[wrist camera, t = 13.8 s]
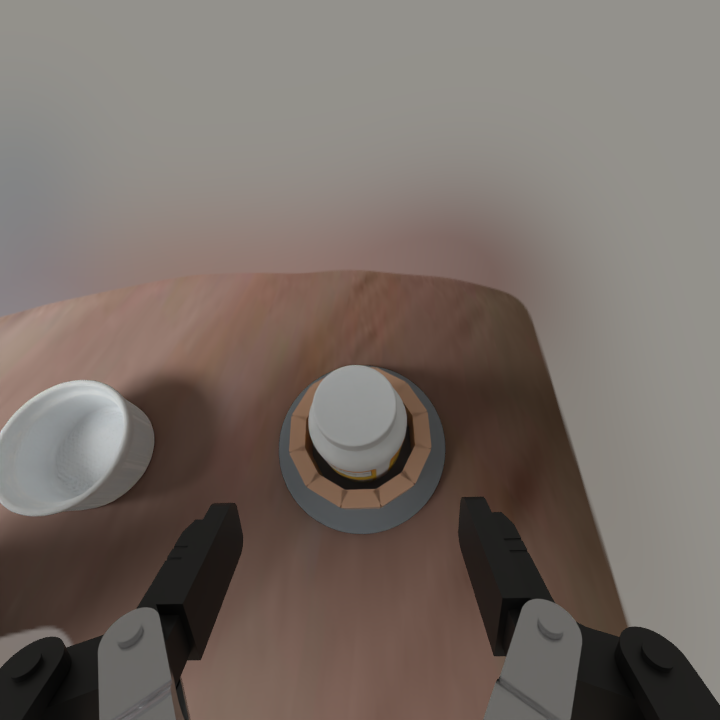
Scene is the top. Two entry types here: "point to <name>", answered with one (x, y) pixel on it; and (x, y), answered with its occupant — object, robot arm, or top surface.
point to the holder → (370, 499)
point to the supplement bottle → (357, 423)
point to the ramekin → (72, 449)
